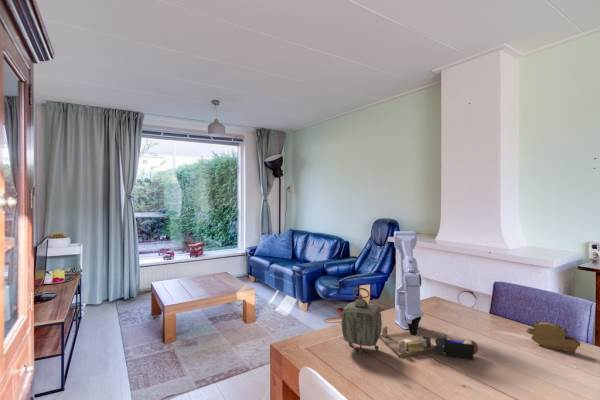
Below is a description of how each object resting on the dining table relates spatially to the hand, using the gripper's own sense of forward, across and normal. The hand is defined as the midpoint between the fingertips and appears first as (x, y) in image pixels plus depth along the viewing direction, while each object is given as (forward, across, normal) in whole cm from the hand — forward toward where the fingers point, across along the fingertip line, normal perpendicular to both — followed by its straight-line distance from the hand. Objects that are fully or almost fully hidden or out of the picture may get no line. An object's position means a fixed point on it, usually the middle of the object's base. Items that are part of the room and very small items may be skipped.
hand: (413, 334), depth 129 cm
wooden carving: (+4, +23, -47) cm, 52 cm away
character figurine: (+4, -2, -16) cm, 17 cm away
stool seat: (+4, -2, +2) cm, 5 cm away
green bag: (+4, -16, +16) cm, 23 cm away
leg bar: (+3, -4, -2) cm, 6 cm away
